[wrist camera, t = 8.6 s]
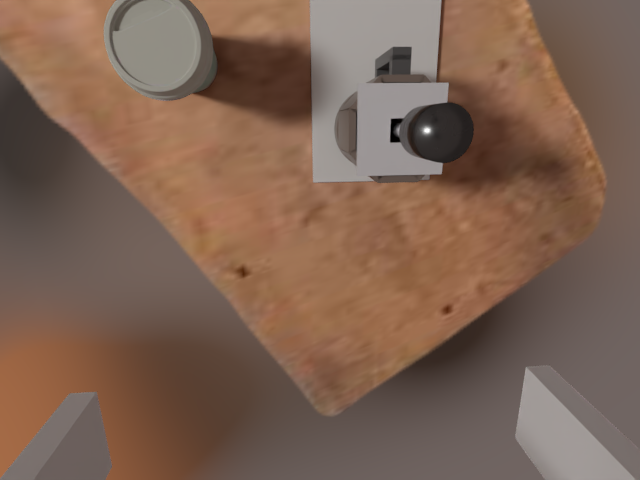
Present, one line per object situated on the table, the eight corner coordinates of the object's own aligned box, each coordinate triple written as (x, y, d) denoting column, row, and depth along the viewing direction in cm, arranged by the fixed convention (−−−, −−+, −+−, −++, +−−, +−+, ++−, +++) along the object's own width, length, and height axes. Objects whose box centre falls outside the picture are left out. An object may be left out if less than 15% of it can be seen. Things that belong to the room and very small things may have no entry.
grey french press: (334, 65, 43) (350, 44, 31) (415, 65, 44) (459, 44, 32) (334, 169, 46) (349, 184, 35) (409, 167, 47) (448, 181, 35)
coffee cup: (235, 29, 42) (214, -7, 30) (225, 112, 44) (202, 108, 33) (151, 10, 41) (97, -34, 29) (146, 97, 43) (94, 87, 31)
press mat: (309, -10, 41) (309, -12, 41) (440, -9, 42) (442, -10, 42) (313, 181, 47) (313, 182, 46) (428, 179, 48) (429, 179, 47)
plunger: (366, 110, 39) (418, 102, 24) (402, 110, 40) (476, 102, 24) (366, 147, 40) (414, 163, 25) (400, 147, 41) (470, 162, 25)
